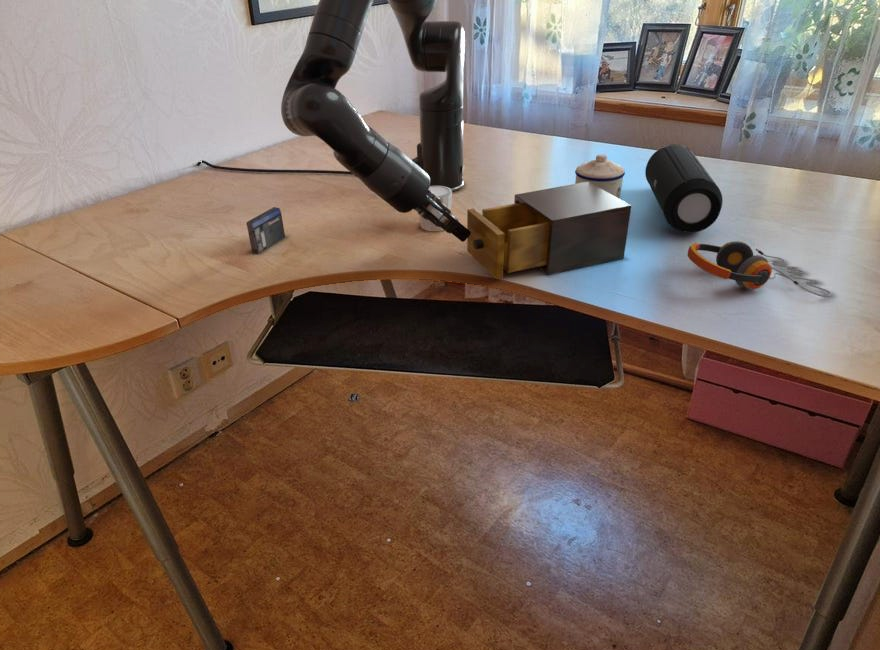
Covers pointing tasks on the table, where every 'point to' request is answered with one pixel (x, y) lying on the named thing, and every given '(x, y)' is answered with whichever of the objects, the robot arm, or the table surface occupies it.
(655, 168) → the portable speaker
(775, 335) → the table surface
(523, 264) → the wooden drawer
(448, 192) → the white faceted cylinder
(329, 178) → the table surface
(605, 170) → the teacup with lid
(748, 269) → the headphones
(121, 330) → the table surface
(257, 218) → the mini dv tape
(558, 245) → the cabinet
